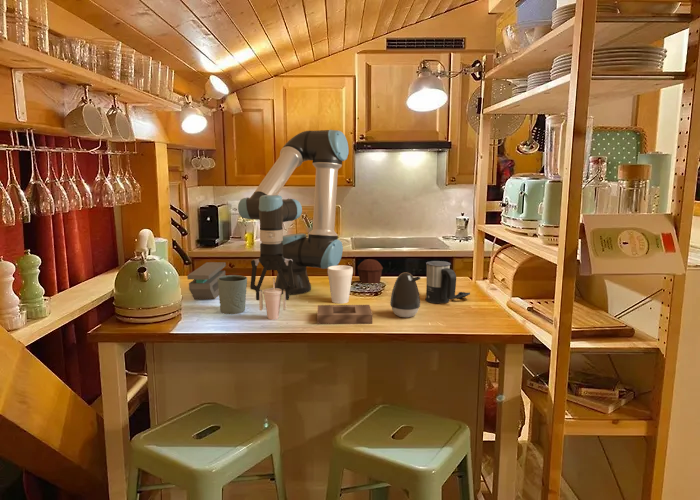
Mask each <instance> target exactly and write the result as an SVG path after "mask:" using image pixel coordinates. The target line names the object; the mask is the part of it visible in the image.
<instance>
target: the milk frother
mask: <svg viewBox="0 0 700 500" xmlns="http://www.w3.org/2000/svg"><path fill="white" fill-rule="evenodd" d="M425 264H426V288H425V289H426V290H425V292H426V293H425V301H426V302H427V303H431V304H447V303H449V302H450V300H455V299H458V298H459V299H460V300H461V299H463V298H465V297H467V296H469V295H471V292H464V291H458V292H457V294H456V290H457V289H456V287H457V274H456V272H455V271H454V269H451V268H450V267H451V265H452V264H451V262H448V261H444V260H443V261H442V260H441V261H440V260H431V261H427V262H425Z"/></svg>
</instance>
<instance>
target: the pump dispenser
mask: <svg viewBox="0 0 700 500" xmlns="http://www.w3.org/2000/svg"><path fill="white" fill-rule="evenodd" d="M419 280H421V276H419V275H418V276H415V277H414V276H413V274H411V273H410V272H408V271H407V272H402V273H400V274H399V275H398V277H397V278H396V280H395V282H394V285H393V288H392V291H391V295H390V300H389V301H390V307H391V311H392V312H393V314H395V316H397V317H400V318H412V317H413V316H415V315H416V314H418V311H419V310H420V309H419V308H420V307H421V299H420V290H419V288H418V287H419V286H418V284H417V282H416V281H419Z"/></svg>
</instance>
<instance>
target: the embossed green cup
mask: <svg viewBox="0 0 700 500" xmlns="http://www.w3.org/2000/svg"><path fill="white" fill-rule="evenodd" d="M247 284H248V277H247V276H245V275H241V274H240V275H239V274H228V275H226V274H225V276H221V277H219V278H218V288H219V296H218V299H219V300H218V301H219V304H220V305H219V311H220V313H221V314H223V313H224V314H223V315H237V314H241V313H244V312H245V310H246V300H247V299H246V298H247Z"/></svg>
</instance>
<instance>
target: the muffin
mask: <svg viewBox="0 0 700 500" xmlns="http://www.w3.org/2000/svg"><path fill="white" fill-rule="evenodd" d="M383 269H384V267H383V265H382V264H381V263H380V262H379V261H378V260H377V259H373V258H368V259H364V260H362V261H361V262H360V263H359V264H358V265H357V270H358V271H357V272H358V279H359V283H360V282H362V283H378V284H380V282H381V279H382V272H383ZM362 283H361V284H362Z"/></svg>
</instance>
